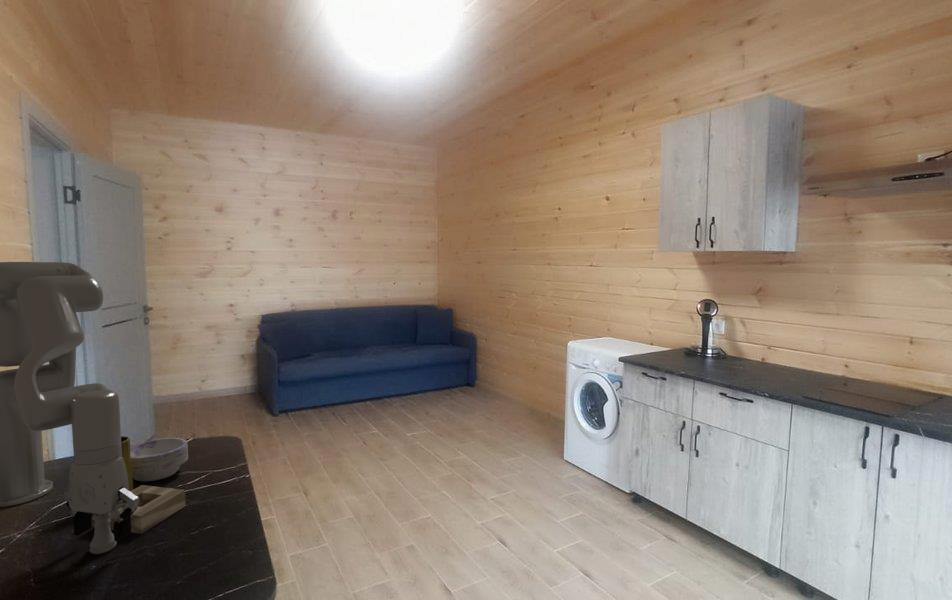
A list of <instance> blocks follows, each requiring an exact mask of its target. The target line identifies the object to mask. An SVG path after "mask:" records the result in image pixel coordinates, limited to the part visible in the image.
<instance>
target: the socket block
mask: <svg viewBox="0 0 952 600" xmlns="http://www.w3.org/2000/svg"><path fill="white" fill-rule="evenodd" d="M130 492H131V493H133V494H134V495H136V496H137V497H139V499H140V501H139V503H138V505H137V509H136V510H135V512H134V513H133V515H131V516H130V517H131V533H132V534H140V535H141V534H144V533H145V532H147V531H148V530H151V528H153V527H155V526H157V525H158V524H160V523H161V522H163V521H164V520H166V519H168V518H170V516H172V515H174V514H175V513H177V512H178V511H180V510H182V509H183V508H185V507H186V490H185V489H179V488H173V487H172V488H170V487H161V486H152V485H145V484H142V485H139V486H138V487H136V488H134V490H132V491H130ZM116 505H118V504H116ZM118 511H119V512H120V514H121V513H122V512H123V510H122V508H119V509H118ZM109 519H110V520H111V521H110V528H111V531H114V522H116V519H115V518H114V517H113V515H112V514H111V515H110V517H109Z"/></svg>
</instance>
